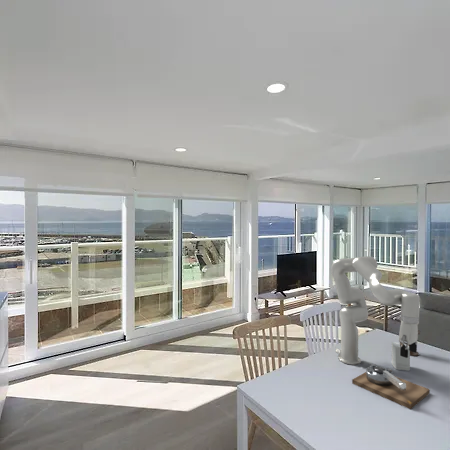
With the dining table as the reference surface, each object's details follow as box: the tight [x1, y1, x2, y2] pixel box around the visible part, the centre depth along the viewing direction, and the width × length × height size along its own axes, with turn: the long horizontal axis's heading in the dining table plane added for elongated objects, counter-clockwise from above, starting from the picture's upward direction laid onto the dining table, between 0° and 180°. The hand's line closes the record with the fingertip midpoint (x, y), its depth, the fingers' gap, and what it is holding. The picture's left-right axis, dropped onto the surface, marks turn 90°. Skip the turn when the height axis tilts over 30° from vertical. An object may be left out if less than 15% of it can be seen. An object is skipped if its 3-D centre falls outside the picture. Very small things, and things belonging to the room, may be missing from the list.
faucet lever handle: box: [365, 363, 406, 391], centre depth 147 cm, size 24×12×7 cm, turn 7°
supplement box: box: [391, 341, 411, 371], centre depth 171 cm, size 7×7×13 cm
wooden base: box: [351, 371, 431, 410], centre depth 149 cm, size 27×21×2 cm
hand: (408, 354), depth 147 cm, fingers open, 9 cm apart
